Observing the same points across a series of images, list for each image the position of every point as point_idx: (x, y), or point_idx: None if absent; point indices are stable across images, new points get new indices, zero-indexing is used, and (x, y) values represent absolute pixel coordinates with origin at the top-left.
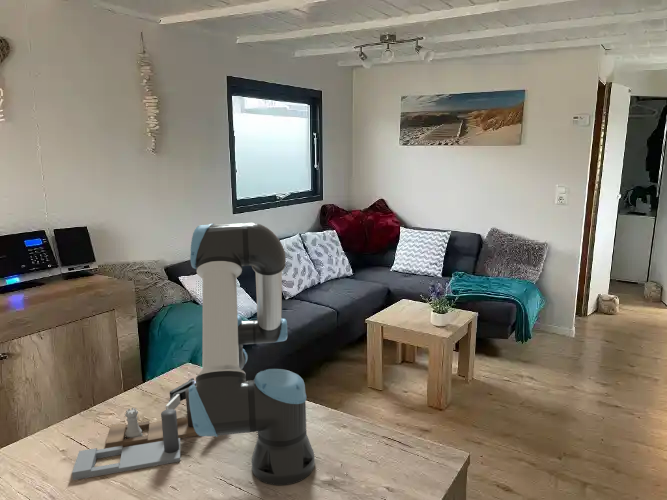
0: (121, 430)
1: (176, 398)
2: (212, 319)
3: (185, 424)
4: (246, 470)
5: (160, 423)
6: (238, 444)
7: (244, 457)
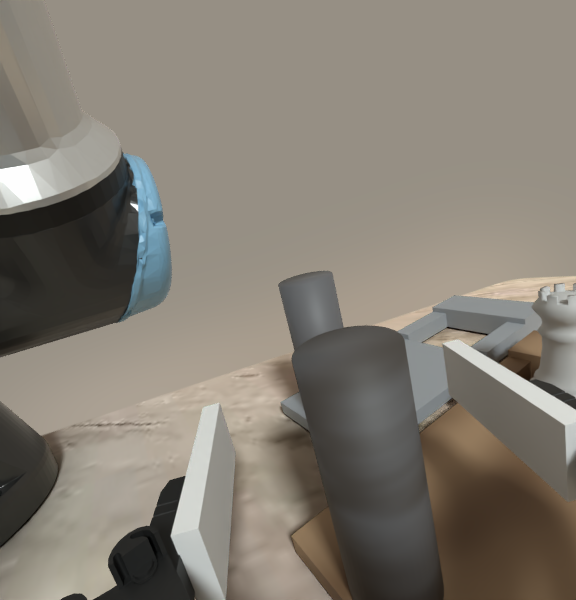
0: None
1: (514, 398)
2: None
3: (442, 545)
4: (76, 468)
5: None
6: (94, 568)
7: (75, 509)
